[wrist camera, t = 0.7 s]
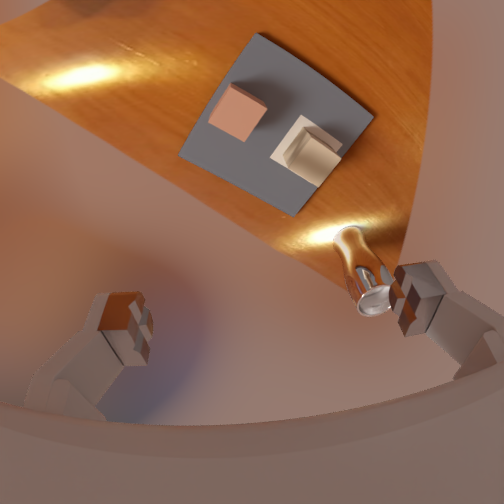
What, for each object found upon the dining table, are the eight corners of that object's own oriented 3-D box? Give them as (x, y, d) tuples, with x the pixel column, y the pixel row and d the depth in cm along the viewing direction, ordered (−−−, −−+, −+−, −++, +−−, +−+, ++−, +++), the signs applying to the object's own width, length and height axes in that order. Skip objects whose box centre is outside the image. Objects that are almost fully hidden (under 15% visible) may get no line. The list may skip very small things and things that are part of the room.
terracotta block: (230, 82, 36) (230, 87, 32) (263, 101, 37) (267, 108, 34) (210, 113, 38) (208, 122, 34) (242, 131, 40) (244, 142, 36)
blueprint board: (255, 33, 33) (256, 32, 32) (370, 115, 40) (374, 117, 39) (178, 152, 42) (177, 155, 41) (292, 213, 50) (293, 217, 49)
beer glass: (353, 259, 56) (380, 320, 45) (322, 249, 55) (346, 313, 43) (373, 231, 53) (408, 289, 41) (342, 218, 51) (374, 279, 39)
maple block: (303, 127, 40) (311, 137, 36) (330, 146, 42) (341, 158, 38) (282, 155, 42) (288, 168, 38) (310, 172, 44) (318, 187, 40)
